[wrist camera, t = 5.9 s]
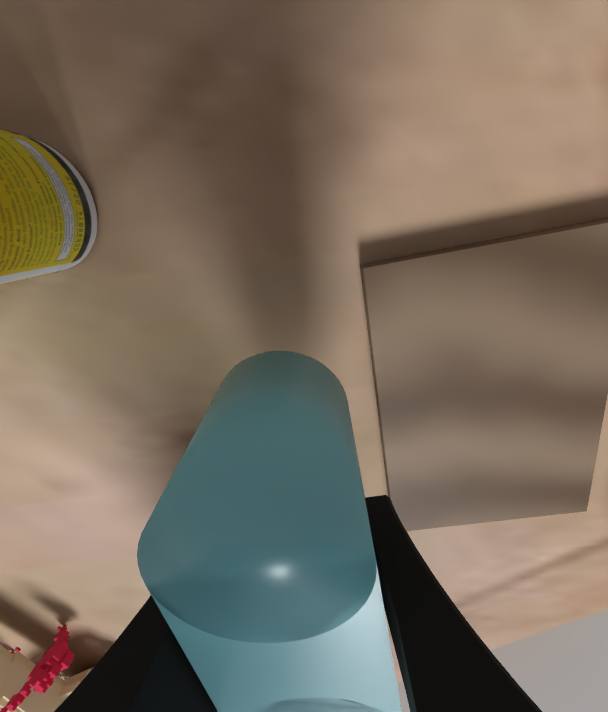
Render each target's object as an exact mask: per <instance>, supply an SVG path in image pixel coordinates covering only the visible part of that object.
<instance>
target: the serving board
mask: <svg viewBox="0 0 608 712" xmlns="http://www.w3.org/2000/svg"><path fill="white" fill-rule="evenodd" d="M360 268H361V276H362V284H363V292H364V301H365V309H366V317H367V325H368V333H369V341H370V350H371V358H372V366H373V374H374V382H375V390H376V399H377V407H378V415H379V423H380V431H381V439H382V448H383V456H384V464H385V472H386V480H387V488H388V497H390V499H391V501H392V504H393V506H394V508H395V511H396V513H397V515H398V517H399V519H400V521H401V522H402V524H403V526H404V528H405V530H406V531H411V530H420V529H429V528H438V527H447V526H456V525H465V524H474V523H483V522H492V521H501V520H510V519H519V518H528V517H537V516H546V515H556V514H565V513H574V512H583V511H587V506H588V501H589V495H590V489H591V484H592V478H593V472H594V467H595V461H596V456H597V450H598V444H599V439H600V433H601V427H602V422H603V416H604V411H605V405H606V399H607V394H608V219H603V220H597V221H592V222H587V223H581V224H576V225H571V226H565V227H560V228H555V229H549V230H544V231H539V232H533V233H528V234H523V235H517V236H512V237H507V238H501V239H496V240H491V241H485V242H480V243H475V244H469V245H464V246H459V247H453V248H448V249H443V250H437V251H432V252H427V253H421V254H416V255H411V256H405V257H400V258H395V259H389V260H384V261H379V262H373V263H368V264H363V265H360Z"/></svg>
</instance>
